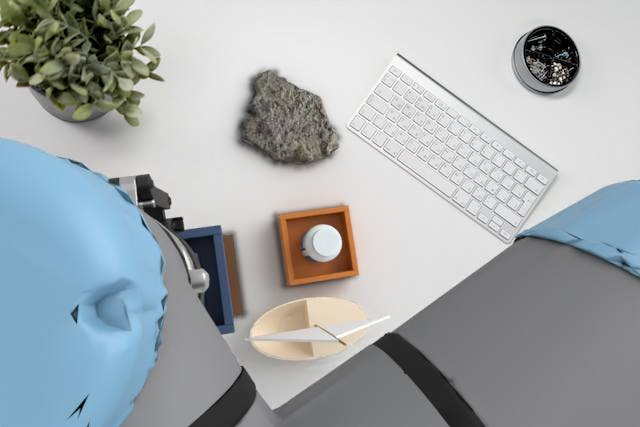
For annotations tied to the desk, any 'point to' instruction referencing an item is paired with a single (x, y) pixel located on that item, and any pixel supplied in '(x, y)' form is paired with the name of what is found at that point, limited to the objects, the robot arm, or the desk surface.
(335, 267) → the amber bin
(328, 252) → the pill bottle
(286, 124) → the stone slab
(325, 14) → the desk surface
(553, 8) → the desk surface
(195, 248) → the slate bin
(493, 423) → the robot arm
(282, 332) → the toy sailboat
